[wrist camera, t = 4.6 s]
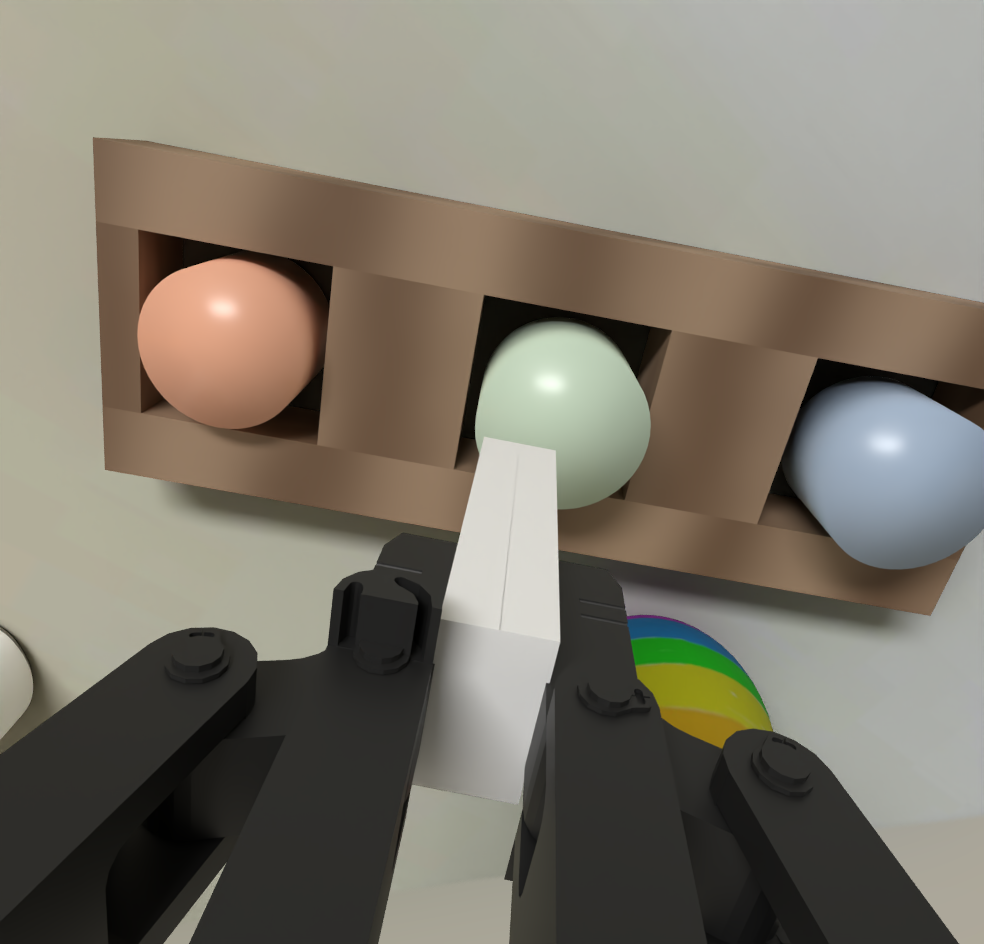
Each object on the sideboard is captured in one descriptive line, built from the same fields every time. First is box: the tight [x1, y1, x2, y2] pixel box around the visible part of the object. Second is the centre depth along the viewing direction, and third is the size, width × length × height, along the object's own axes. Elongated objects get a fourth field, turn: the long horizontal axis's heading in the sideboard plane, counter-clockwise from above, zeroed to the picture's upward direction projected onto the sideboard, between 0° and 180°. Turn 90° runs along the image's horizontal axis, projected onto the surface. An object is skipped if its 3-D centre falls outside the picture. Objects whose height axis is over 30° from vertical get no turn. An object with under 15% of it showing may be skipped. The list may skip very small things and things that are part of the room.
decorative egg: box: [627, 615, 773, 748], centre depth 25 cm, size 8×8×10 cm
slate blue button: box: [782, 376, 984, 569], centre depth 22 cm, size 5×5×4 cm
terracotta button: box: [137, 251, 330, 429], centre depth 23 cm, size 5×5×4 cm
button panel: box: [93, 137, 984, 616], centre depth 23 cm, size 28×10×3 cm, turn 80°
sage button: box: [475, 317, 651, 509], centre depth 21 cm, size 5×5×4 cm
